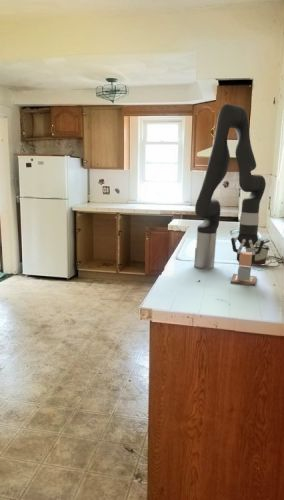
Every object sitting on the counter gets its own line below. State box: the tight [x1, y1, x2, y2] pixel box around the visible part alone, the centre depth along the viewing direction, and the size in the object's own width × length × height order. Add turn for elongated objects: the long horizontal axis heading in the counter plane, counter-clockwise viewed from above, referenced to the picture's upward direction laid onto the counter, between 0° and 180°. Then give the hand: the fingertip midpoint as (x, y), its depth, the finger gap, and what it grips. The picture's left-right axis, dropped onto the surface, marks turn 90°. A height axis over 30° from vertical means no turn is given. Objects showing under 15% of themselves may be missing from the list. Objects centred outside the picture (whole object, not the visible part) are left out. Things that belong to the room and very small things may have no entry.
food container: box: [244, 243, 271, 265], centre depth 193 cm, size 12×6×10 cm, turn 84°
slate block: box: [237, 264, 252, 281], centre depth 162 cm, size 5×5×5 cm
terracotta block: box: [238, 251, 252, 267], centre depth 161 cm, size 5×5×5 cm
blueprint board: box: [230, 273, 257, 287], centre depth 163 cm, size 10×12×1 cm
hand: (245, 262), depth 161 cm, fingers closed on terracotta block, 4 cm apart
